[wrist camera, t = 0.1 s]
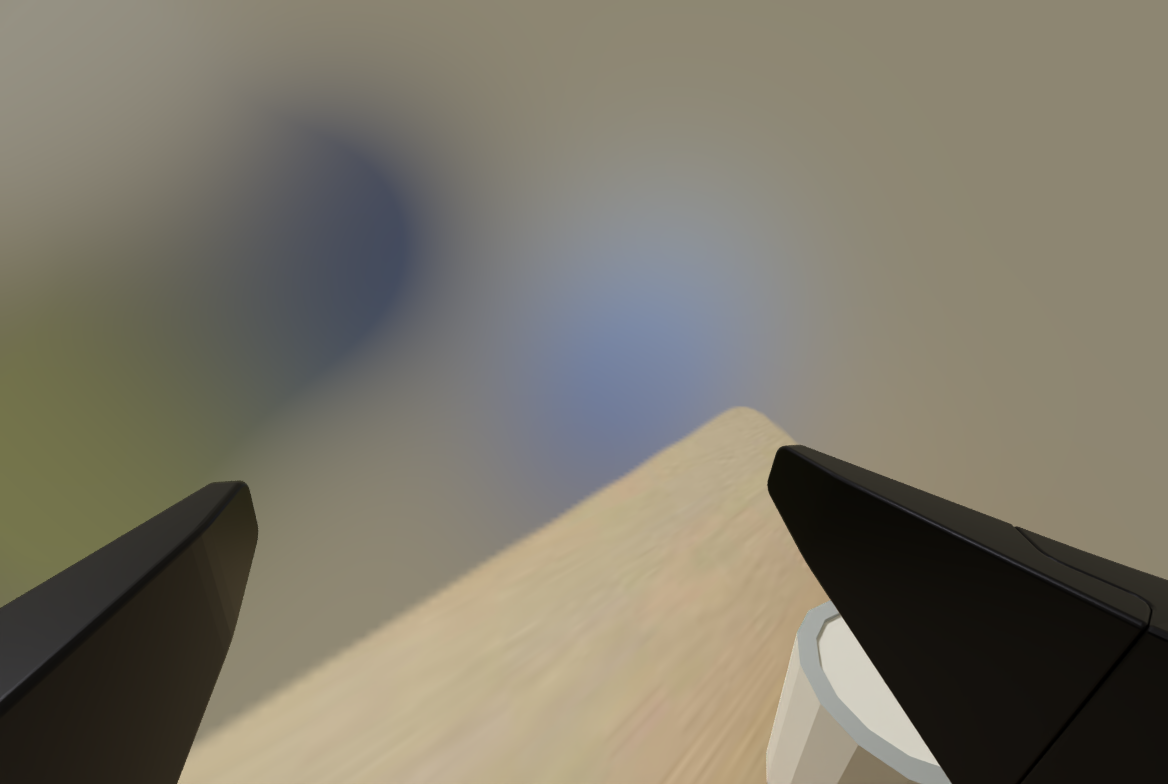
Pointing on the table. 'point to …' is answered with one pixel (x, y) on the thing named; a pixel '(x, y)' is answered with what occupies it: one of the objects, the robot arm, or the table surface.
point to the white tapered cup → (842, 716)
